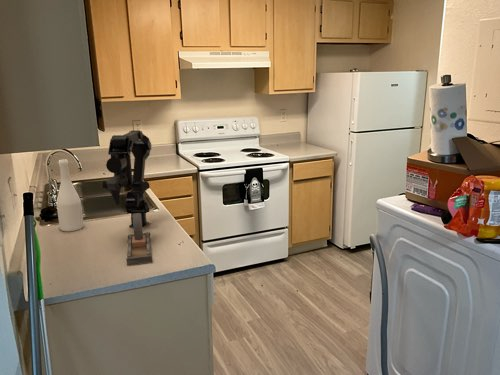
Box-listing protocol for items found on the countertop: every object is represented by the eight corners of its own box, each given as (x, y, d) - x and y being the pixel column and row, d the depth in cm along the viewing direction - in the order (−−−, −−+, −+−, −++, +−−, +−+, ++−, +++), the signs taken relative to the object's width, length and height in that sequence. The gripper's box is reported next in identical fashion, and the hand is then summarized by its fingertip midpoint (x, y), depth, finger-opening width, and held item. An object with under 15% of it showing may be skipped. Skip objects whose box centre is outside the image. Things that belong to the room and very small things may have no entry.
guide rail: (128, 240, 162) (127, 233, 161) (150, 238, 164) (149, 231, 163) (126, 265, 140) (126, 257, 139) (152, 262, 142) (151, 254, 141)
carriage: (132, 240, 158) (130, 212, 155) (145, 239, 159) (143, 210, 156) (132, 247, 151) (129, 217, 148) (145, 246, 152) (143, 216, 149)
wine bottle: (64, 224, 180) (55, 158, 173) (86, 223, 181) (78, 157, 174) (56, 232, 171) (46, 162, 164) (80, 231, 172) (71, 161, 165)
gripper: (90, 170, 155) (94, 209, 159) (131, 173, 148) (135, 214, 152) (109, 164, 165) (113, 201, 169) (148, 167, 159) (151, 205, 162)
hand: (127, 205), depth 163 cm, fingers open, 9 cm apart
